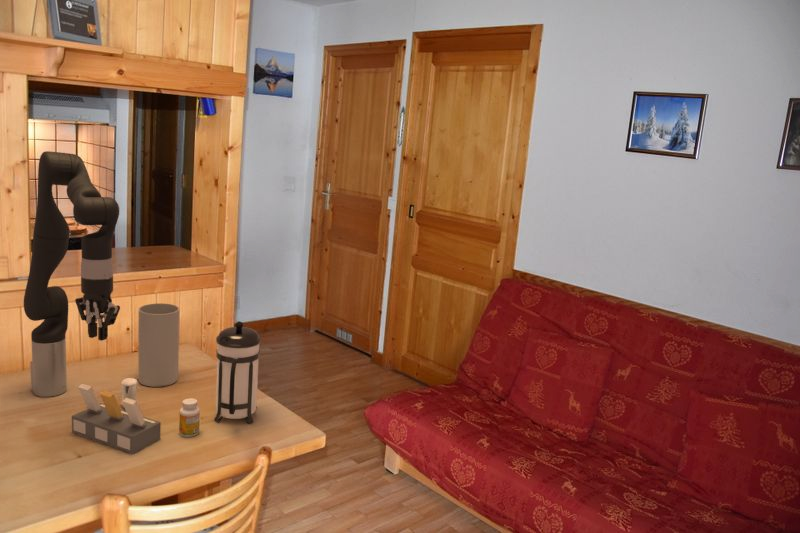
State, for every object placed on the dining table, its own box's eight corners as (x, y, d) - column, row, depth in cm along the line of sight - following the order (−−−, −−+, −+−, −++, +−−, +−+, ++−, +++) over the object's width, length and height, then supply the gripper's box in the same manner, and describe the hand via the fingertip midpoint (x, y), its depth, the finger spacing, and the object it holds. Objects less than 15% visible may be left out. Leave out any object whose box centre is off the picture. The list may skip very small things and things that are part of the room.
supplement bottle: (178, 429, 187) (178, 398, 185) (198, 427, 189) (198, 396, 187) (180, 438, 182) (180, 406, 180) (200, 436, 184) (200, 404, 182)
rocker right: (130, 424, 177) (121, 400, 172) (134, 421, 178) (125, 397, 173) (143, 429, 175) (133, 404, 170) (147, 425, 176) (137, 401, 172)
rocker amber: (108, 417, 180) (98, 393, 175) (112, 413, 181) (102, 390, 176) (120, 421, 178) (110, 397, 173) (124, 417, 179) (114, 394, 175)
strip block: (71, 432, 180) (71, 415, 179) (101, 419, 189) (101, 402, 188) (132, 454, 172) (132, 436, 171) (160, 438, 181) (160, 421, 180)
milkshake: (134, 412, 195) (134, 380, 193) (118, 409, 196) (117, 377, 194) (143, 406, 200) (143, 375, 197) (127, 403, 201) (127, 372, 198)
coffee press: (197, 414, 197) (199, 319, 191) (242, 401, 209) (246, 311, 203) (229, 436, 186) (232, 336, 180) (275, 421, 198) (280, 326, 191)
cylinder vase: (163, 370, 227) (164, 301, 222) (185, 380, 220) (187, 309, 215) (130, 379, 217) (130, 307, 212) (153, 391, 210) (153, 316, 205)
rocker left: (87, 410, 183) (76, 386, 178) (91, 406, 184) (80, 383, 179) (99, 414, 181) (88, 390, 176) (102, 410, 182) (92, 387, 178)
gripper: (64, 272, 167) (66, 336, 171) (105, 282, 162) (106, 348, 166) (89, 267, 174) (90, 329, 178) (129, 276, 169) (129, 340, 172)
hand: (97, 338), depth 171 cm, fingers open, 3 cm apart
